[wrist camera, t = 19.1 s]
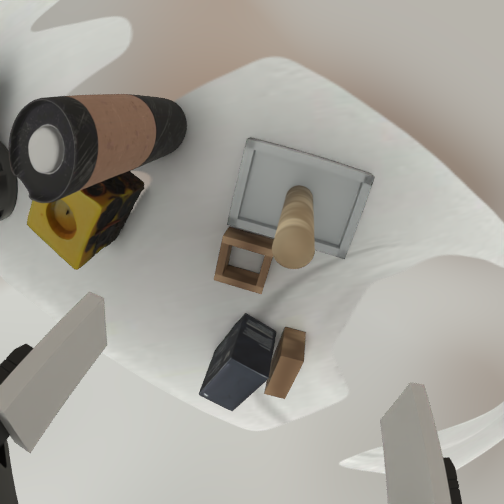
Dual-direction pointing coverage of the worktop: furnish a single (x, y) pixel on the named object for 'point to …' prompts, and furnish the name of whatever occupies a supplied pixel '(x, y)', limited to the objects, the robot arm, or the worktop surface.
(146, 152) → the travel mug
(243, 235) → the socket
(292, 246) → the dowel
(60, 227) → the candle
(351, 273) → the worktop surface
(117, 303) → the worktop surface
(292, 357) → the wooden block
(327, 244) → the tray
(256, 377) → the box
